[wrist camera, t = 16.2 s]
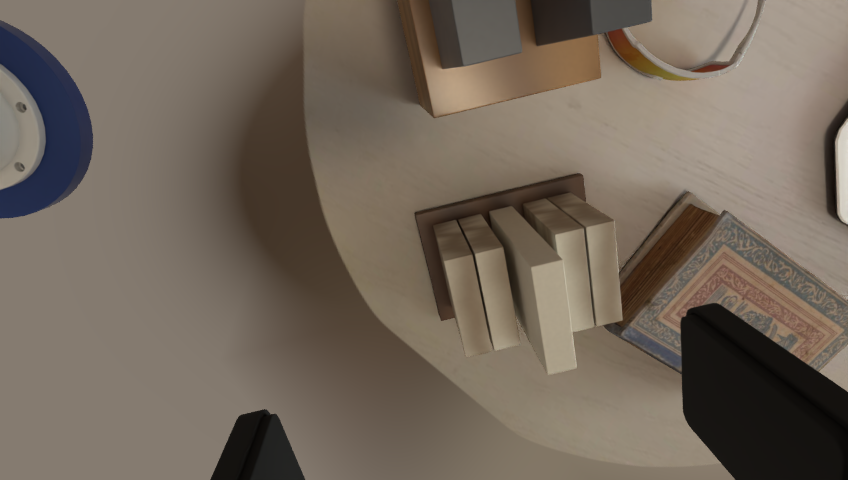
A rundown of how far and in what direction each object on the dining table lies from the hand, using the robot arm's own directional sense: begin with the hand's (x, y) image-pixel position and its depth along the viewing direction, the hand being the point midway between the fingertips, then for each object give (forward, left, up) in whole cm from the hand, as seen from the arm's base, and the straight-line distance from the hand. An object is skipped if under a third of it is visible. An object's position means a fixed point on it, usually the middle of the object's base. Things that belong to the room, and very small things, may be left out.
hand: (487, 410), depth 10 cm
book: (+31, -26, -38) cm, 56 cm away
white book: (+8, -13, -37) cm, 40 cm away
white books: (+8, -13, -38) cm, 41 cm away
